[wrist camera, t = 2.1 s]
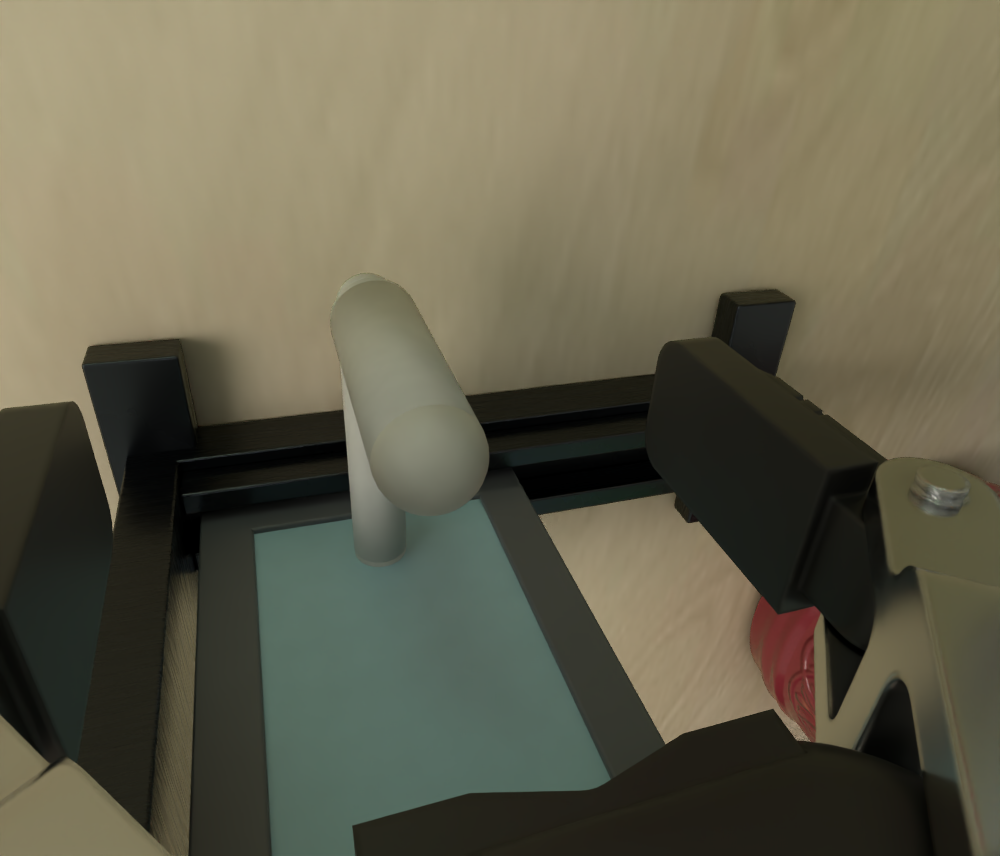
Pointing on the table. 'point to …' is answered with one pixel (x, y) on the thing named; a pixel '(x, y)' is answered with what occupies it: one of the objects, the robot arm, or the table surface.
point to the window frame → (290, 475)
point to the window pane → (393, 625)
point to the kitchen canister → (792, 656)
